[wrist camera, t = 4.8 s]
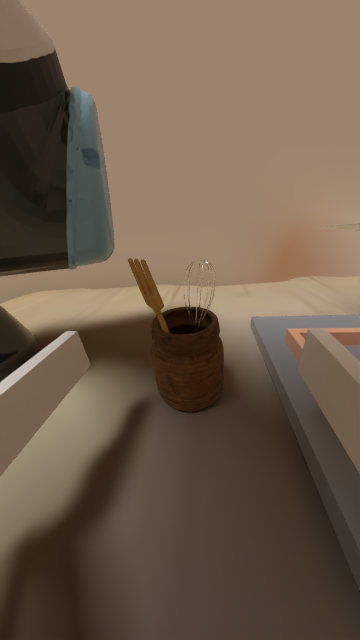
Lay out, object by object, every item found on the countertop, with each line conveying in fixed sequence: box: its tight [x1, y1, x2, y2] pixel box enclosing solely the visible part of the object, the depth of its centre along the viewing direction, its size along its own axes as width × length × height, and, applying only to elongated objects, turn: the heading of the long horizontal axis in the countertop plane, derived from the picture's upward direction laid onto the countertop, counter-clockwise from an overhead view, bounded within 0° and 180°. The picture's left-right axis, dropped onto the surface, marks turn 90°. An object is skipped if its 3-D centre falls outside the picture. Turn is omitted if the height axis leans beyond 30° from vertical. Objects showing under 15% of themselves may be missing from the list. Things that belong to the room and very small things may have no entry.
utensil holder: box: [128, 258, 224, 411], centre depth 14 cm, size 6×6×12 cm
